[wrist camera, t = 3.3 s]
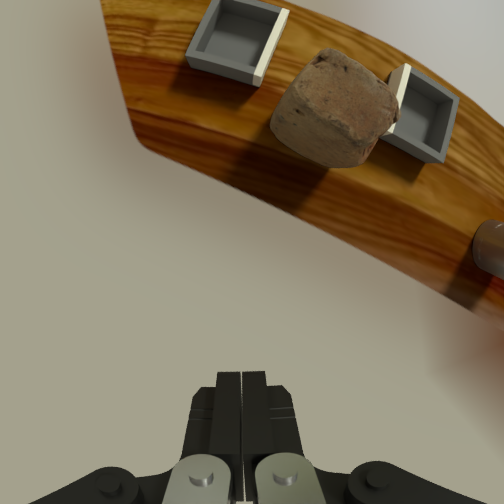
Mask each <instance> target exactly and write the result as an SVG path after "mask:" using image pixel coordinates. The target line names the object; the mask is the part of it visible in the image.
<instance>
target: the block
mask: <svg viewBox="0 0 504 504" xmlns="http://www.w3.org/2000/svg"><path fill="white" fill-rule="evenodd" d="M400 118H401V111H400V109H399V103H398V100H397V98H396V95H395V93H394V91H393V90H392V89H391V88H390V87H389V86H388V85H387V84H386V83H384V82H383V81H382V80H380V79H379V78H378V77H376V76H375V75H374V74H373V73H372V72H371V71H369V70H368V69H366V68H365V67H364V66H363V65H361V64H360V63H359V62H357V61H355V60H353V59H351V58H349V57H347V56H346V55H345V54H344V53H342V52H340V51H338V50H335V49H331V48H326V49H324V50H321V51H320V52H319V53H318V54H317V55H316V56H315V57H314V58H313V59H312V60H311V61H310V62H309V63H308V64H307V65H306V66H305V67H304V68H303V70H302V71H301V72H300V73H299V74H298V75H297V77H296V78H295V79H294V80H293V82H292V83H291V84H290V86H289V87H288V89H287V90H286V92H285V93H284V95H283V96H282V98H281V99H280V101H279V103H278V105H277V107H276V109H275V110H274V112H273V114H272V117H271V122H270V129H271V131H272V132H273V133H274V134H275V136H276V138H277V139H278V140H279V141H281V142H282V143H283V144H285V145H286V146H287V147H289V148H290V149H292V150H293V151H295V152H297V153H298V154H300V155H301V156H304V157H306V158H308V159H310V160H313V161H315V162H317V163H319V164H321V165H323V166H326V167H330V168H351V167H356V166H359V165H361V164H363V162H364V161H365V160H366V159H367V157H368V156H369V154H370V152H371V151H372V149H373V147H374V146H375V144H376V142H377V141H378V138H379V137H380V136H382V135H383V134H385V133H386V131H387V130H388V129H390V127H391V126H392V125H393V124H394V123H396V122H397V121H398V120H399V119H400Z"/></svg>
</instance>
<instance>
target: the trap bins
mask: <svg viewBox="0 0 504 504" xmlns="http://www.w3.org/2000/svg"><path fill="white" fill-rule="evenodd" d="M289 11H290V10H287V9H284V8H280V7H277V6H274V5H271V4H267V3H264V2H261V1H257V0H212V1H211V3H210V5H209V7H208V9H207V11H206V13H205V15H204V17H203V19H202V21H201V23H200V25H199V27H198V29H197V31H196V33H195V35H194V37H193V39H192V41H191V43H190V45H189V47H188V50H187V52H186V54H185V57H186V59H187V61H188V63H189V65H190V67H191V68H195V69H199V70H202V71H206V72H210V73H213V74H217V75H220V76H224V77H227V78H231V79H234V80H237V81H240V82H243V83H247V84H250V85H253V86H256V87H260V85H261V82H262V80H263V77H264V75H265V72H266V70H267V67H268V65H269V62H270V60H271V58H272V55H273V53H274V50H275V48H276V46H277V43H278V41H279V38H280V36H281V34H282V31H283V29H284V27H285V24H286V21H287V17H288V14H289ZM387 85H388V86H389V87H390V88H391V89H392V90H393V91H394V93H395V95H396V98H397V100H398V103H399V109H400V111H401V118H400V119H399V120H398V121H397V122H396V123H394V124H393V125H392V126H391V127H390V129H388V130H387V131H386V133H385V134H383V135H382V136H380V137H379V138H380V139H382V140H384V141H386V142H388V143H390V144H392V145H394V146H396V147H398V148H399V149H401V150H403V151H405V152H407V153H409V154H410V155H412V156H414V157H416V158H418V159H419V160H421V161H423V162H425V163H444V159H445V156H446V152H447V149H448V145H449V141H450V137H451V133H452V129H453V125H454V121H455V117H456V112H457V108H458V103H459V97H457V96H456V95H455V94H453V93H452V92H450V91H449V90H447V89H446V88H444V87H443V86H442V85H440V84H439V83H437V82H436V81H434V80H432V79H431V78H429V77H428V76H426V75H425V74H423V73H421V72H420V71H418V70H416V69H415V68H413V67H411V66H410V65H408V64H406V63H405V64H403V65H401V66H400V67H398V68H397V69H395V70H393V71H392V72H391V73H390V76H389V80H388V83H387Z"/></svg>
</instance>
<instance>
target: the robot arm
mask: <svg viewBox="0 0 504 504" xmlns="http://www.w3.org/2000/svg"><path fill="white" fill-rule="evenodd" d="M472 252H473V258H474V261H475V263H476V265H477V266H478V267H479V268H480V269H482V270H484V271H486V272H488V273H491V274H493V275H494V276H497V277H499V278H501V279H503V280H504V222H500V221H496V220H488V221H486V222H484V223H483V224H482V225H481V226H480V227H479V229H478V230H477V232H476V234H475V237H474V241H473V249H472ZM241 395H242V396H241ZM243 464H244V478H245V492H246V501H253V504H486V503H484V502H481V501H478V500H475V499H472V498H469V497H467V496H464V495H462V494H459V493H456V492H454V491H451V490H449V489H446V488H444V487H441V486H439V485H437V484H434V483H432V482H430V481H427V480H425V479H423V478H421V477H418V476H416V475H414V474H412V473H409V472H407V471H405V470H403V469H401V468H399V467H397V466H395V465H393V464H390V463H387V462H382V461H372V462H366V463H364V464H361V465H359V466H358V467H356V468H355V469H354V470H353V471H352V472H351V474H342V473H332V472H326V471H323V470H320V469H317V468H315V467H314V466H313V465H312V464H311V462H309V460H308V459H306V458H305V456H304V454H303V450H302V445H301V440H300V436H299V431H298V427H297V422H296V418H295V412H294V409H293V403H292V398H291V394H290V393H289V392H288V391H287V390H286V389H285V388H284V387H283V386H282V385H278V386H267V385H266V376H265V371H253V372H251V371H250V372H242V394H241V374H240V372H218V373H217V380H216V387H201V388H200V389H199V390H198V392H197V393H196V394H195V395H194V396H193V399H192V404H191V411H190V414H189V420H188V424H187V429H186V434H185V440H184V445H183V450H182V455H181V458H180V460H179V462H178V463H177V464H176V465H175V466H174V467H173V468H172V469H170V470H169V471H167V472H164V473H162V474H158V475H152V476H145V477H137V478H135V476H133V474H131V473H130V472H129V471H127V470H125V469H122V468H119V467H104V468H100V469H98V470H95V471H94V472H92V473H90V474H88V475H86V476H84V477H82V478H81V479H79V480H77V481H75V482H73V483H71V484H69V485H67V486H65V487H63V488H61V489H59V490H57V491H55V492H53V493H51V494H49V495H47V496H44V497H42V498H40V499H38V500H36V501H34V502H31V503H29V504H236V501H244V493H243V492H244V489H243Z"/></svg>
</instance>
